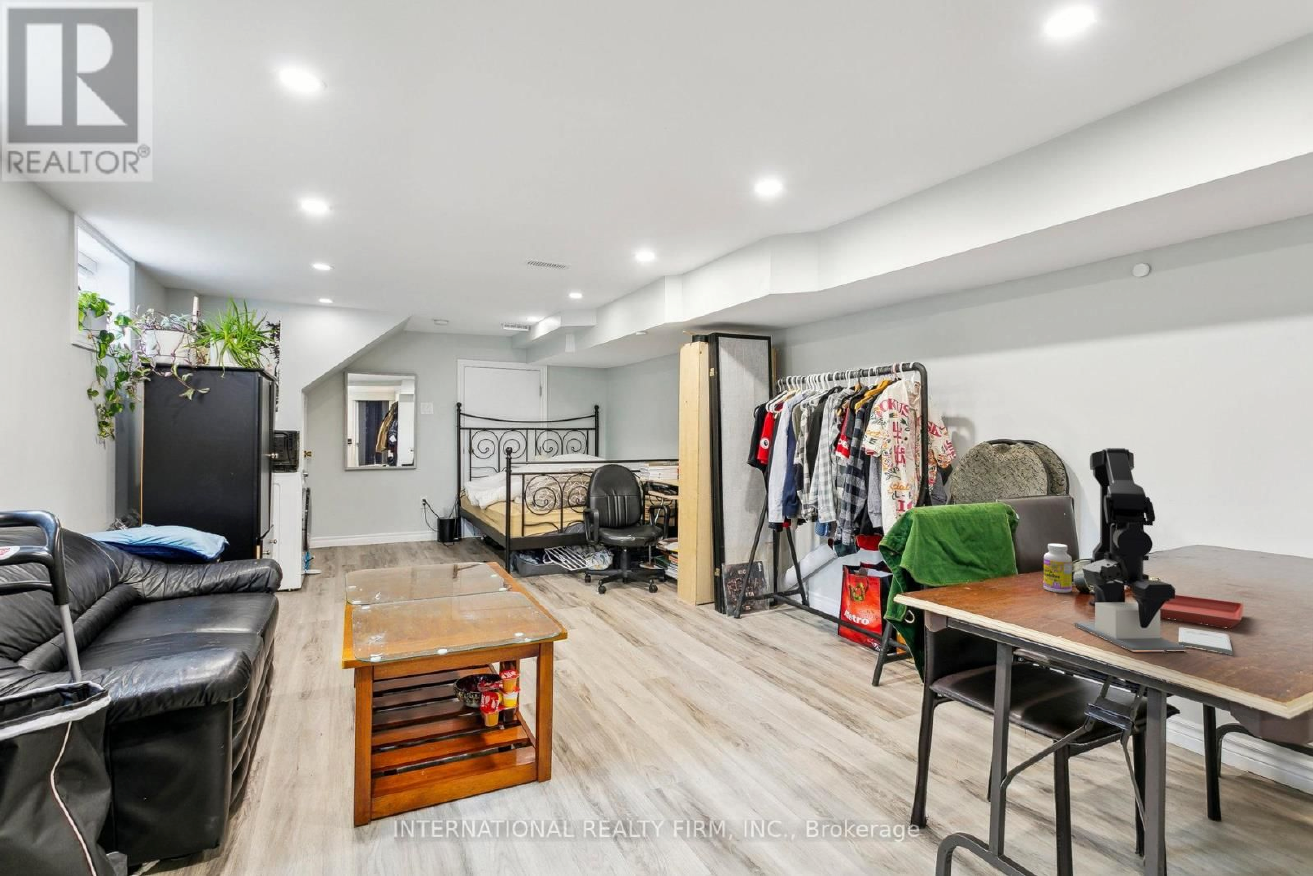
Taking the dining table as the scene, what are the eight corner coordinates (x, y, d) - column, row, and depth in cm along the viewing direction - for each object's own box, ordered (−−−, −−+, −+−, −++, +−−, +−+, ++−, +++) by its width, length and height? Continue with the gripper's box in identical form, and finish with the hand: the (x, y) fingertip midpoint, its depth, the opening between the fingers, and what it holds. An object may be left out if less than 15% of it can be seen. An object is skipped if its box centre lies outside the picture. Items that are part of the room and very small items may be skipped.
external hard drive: (1178, 649, 128) (1178, 633, 137) (1232, 658, 123) (1229, 641, 132) (1178, 641, 128) (1178, 626, 137) (1232, 649, 123) (1229, 633, 132)
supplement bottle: (1038, 588, 176) (1037, 543, 176) (1055, 586, 178) (1055, 542, 178) (1059, 594, 170) (1059, 547, 170) (1077, 592, 172) (1077, 546, 172)
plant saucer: (1138, 617, 149) (1138, 604, 149) (1148, 603, 162) (1148, 590, 162) (1241, 634, 136) (1241, 619, 136) (1243, 617, 149) (1243, 603, 149)
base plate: (1074, 626, 141) (1074, 611, 141) (1122, 626, 141) (1122, 610, 141) (1132, 652, 124) (1132, 635, 124) (1186, 652, 124) (1186, 634, 124)
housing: (1115, 638, 130) (1115, 610, 130) (1095, 629, 136) (1095, 602, 136) (1160, 638, 130) (1160, 609, 130) (1137, 629, 136) (1137, 602, 136)
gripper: (1060, 541, 142) (1061, 609, 142) (1122, 558, 123) (1122, 635, 124) (1108, 541, 142) (1109, 608, 142) (1177, 557, 123) (1177, 635, 124)
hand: (1126, 621), depth 133 cm, fingers open, 9 cm apart
